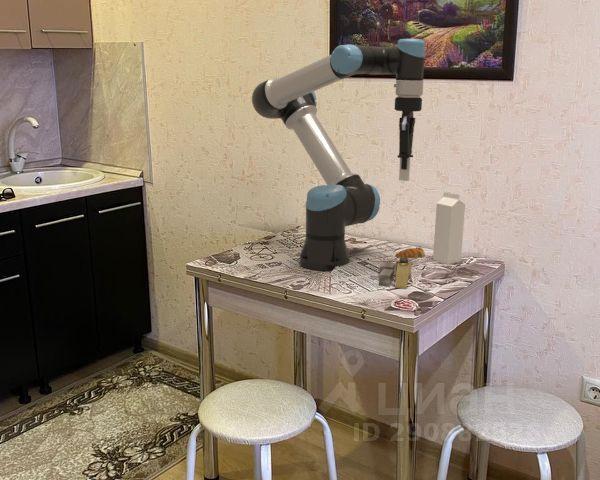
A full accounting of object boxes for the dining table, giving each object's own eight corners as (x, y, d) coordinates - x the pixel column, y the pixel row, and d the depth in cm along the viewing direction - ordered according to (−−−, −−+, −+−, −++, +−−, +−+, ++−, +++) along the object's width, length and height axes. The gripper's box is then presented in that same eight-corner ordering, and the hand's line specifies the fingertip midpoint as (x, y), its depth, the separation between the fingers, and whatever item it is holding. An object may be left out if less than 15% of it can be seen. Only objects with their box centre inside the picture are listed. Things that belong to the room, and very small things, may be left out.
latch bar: (395, 273, 188) (396, 259, 187) (411, 274, 187) (412, 260, 186) (392, 287, 175) (393, 272, 174) (409, 288, 174) (410, 274, 173)
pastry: (402, 264, 202) (402, 252, 201) (390, 259, 208) (390, 247, 207) (427, 261, 206) (428, 249, 205) (414, 256, 212) (415, 244, 211)
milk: (447, 268, 198) (452, 195, 192) (432, 263, 202) (436, 192, 197) (460, 265, 201) (466, 193, 196) (445, 260, 206) (450, 190, 201)
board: (365, 289, 177) (366, 267, 175) (382, 266, 199) (383, 246, 197) (430, 297, 172) (431, 274, 170) (439, 272, 194) (441, 251, 192)
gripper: (399, 95, 192) (395, 176, 198) (391, 96, 180) (386, 182, 186) (425, 96, 190) (420, 177, 196) (418, 97, 178) (413, 184, 184)
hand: (404, 180), depth 191 cm, fingers closed
